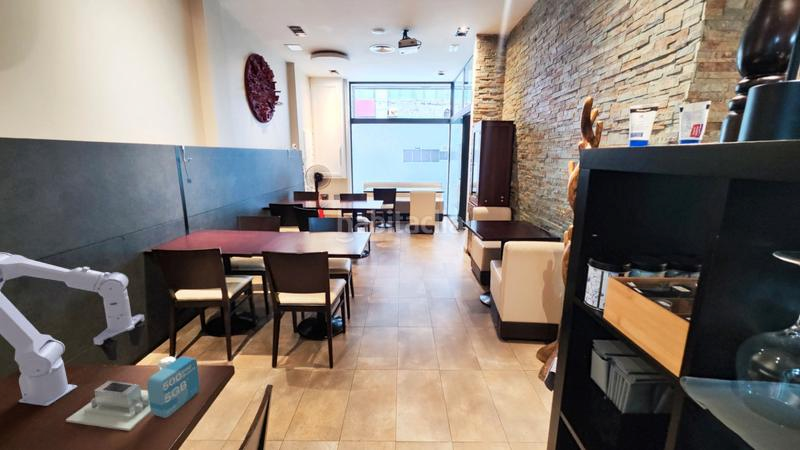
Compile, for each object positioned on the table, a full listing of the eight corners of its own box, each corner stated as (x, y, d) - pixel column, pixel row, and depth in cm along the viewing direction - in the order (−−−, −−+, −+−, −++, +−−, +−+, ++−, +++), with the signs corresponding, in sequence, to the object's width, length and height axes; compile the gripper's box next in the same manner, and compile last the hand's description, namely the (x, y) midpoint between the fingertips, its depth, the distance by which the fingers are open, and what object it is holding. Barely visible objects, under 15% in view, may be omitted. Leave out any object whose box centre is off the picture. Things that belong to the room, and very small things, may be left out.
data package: (164, 421, 88) (159, 383, 85) (151, 417, 89) (145, 379, 86) (200, 390, 99) (196, 356, 97) (188, 387, 100) (184, 353, 98)
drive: (97, 408, 90) (94, 390, 89) (111, 398, 94) (108, 380, 93) (129, 413, 89) (126, 394, 88) (142, 402, 93) (139, 384, 92)
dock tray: (66, 421, 86) (64, 412, 86) (113, 387, 99) (112, 379, 98) (129, 430, 84) (128, 421, 84) (169, 395, 97) (168, 387, 97)
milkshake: (184, 381, 103) (181, 353, 101) (165, 391, 98) (161, 362, 96) (176, 376, 105) (173, 349, 103) (158, 385, 101) (154, 357, 99)
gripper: (106, 326, 91) (113, 368, 94) (150, 303, 105) (155, 340, 108) (84, 323, 92) (91, 365, 95) (131, 301, 106) (136, 338, 109)
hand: (124, 352), depth 101 cm, fingers open, 7 cm apart
